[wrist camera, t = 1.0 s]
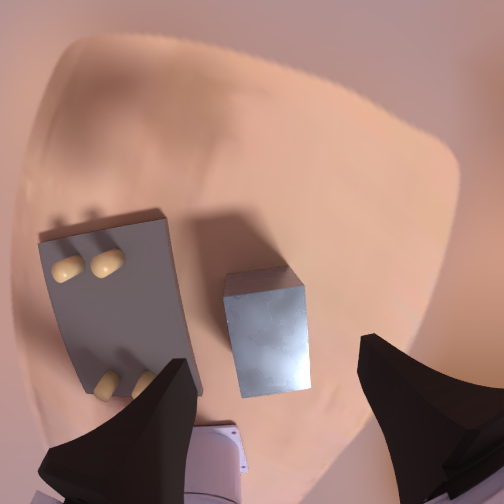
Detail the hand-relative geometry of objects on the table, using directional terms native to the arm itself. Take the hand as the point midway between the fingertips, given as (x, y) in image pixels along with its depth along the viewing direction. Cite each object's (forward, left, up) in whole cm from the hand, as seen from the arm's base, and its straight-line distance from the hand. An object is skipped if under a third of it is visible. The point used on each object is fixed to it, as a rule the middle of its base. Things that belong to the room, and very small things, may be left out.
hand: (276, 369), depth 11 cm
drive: (-3, 0, -12) cm, 12 cm away
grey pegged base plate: (-2, +13, -12) cm, 18 cm away
